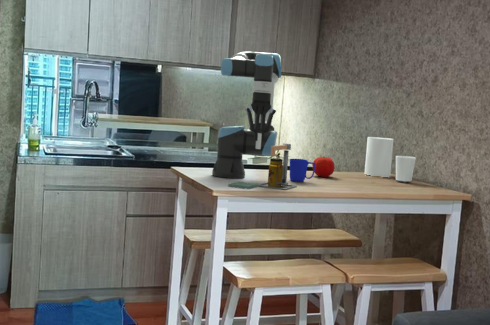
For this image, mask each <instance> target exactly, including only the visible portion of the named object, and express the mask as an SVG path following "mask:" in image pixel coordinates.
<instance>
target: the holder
mask: <svg viewBox="0 0 490 325" xmlns="http://www.w3.org/2000/svg"><path fill="white" fill-rule="evenodd" d="M257 184H258V187H257V188H259V187H260V188H267V189H273V190H281V191H288V190H290V189H294V188H297V187H298V185H295V184H293V185H292V184H288V185H287V184H282V186H286V187H282V188H277V187H269V186H267V185H268V181H266V182H263V183H257ZM265 185H266V186H265Z"/></svg>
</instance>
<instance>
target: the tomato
mask: <svg viewBox="0 0 490 325" xmlns="http://www.w3.org/2000/svg"><path fill="white" fill-rule="evenodd" d="M313 163H316V166H315V172H314V174H315V175H316V176H318V177H321V178H322V177H323V178H328V177H330V176H332V175H333V173H334V172H335V163H334V160H333V159H332V158H331V157H327V156H318V157H316V158H315V159H314V160H313ZM311 165H312V166H311V167H312V170H313V169H314V164H311Z"/></svg>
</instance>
